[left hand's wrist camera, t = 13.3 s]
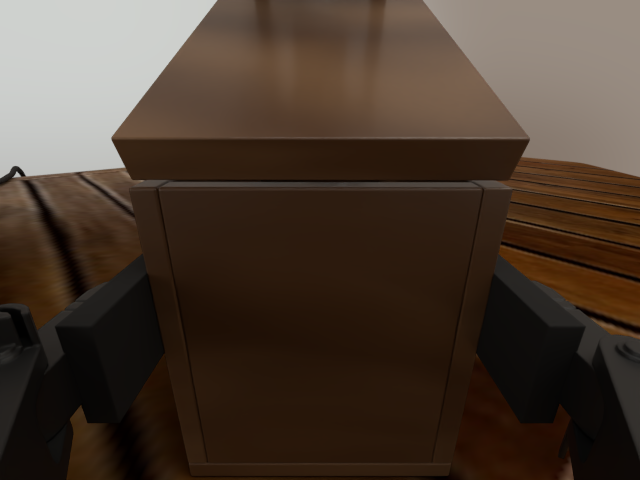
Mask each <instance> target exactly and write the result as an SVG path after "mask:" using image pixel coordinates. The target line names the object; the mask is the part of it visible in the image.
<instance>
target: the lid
mask: <svg viewBox="0 0 640 480" xmlns="http://www.w3.org/2000/svg"><path fill="white" fill-rule="evenodd" d="M529 141H530V138H529V137H528V135H527V134H526V133H525V131H524V130H523V129H522V128H521V126H520V125H519V124H518V122H517V121H516V120H515V119H514V117H513V116H512V115H511V113H510V112H509V111H508V110H507V108H506V107H505V106H504V104H503V103H502V102H501V101H500V99H499V98H498V97H497V95H496V94H495V93H494V92H493V90H492V89H491V88H490V86H489V85H488V84H487V83H486V81H485V80H484V79H483V77H482V76H481V75H480V74H479V72H478V71H477V70H476V68H475V67H474V66H473V65H472V63H471V62H470V61H469V59H468V58H467V57H466V56H465V54H464V53H463V52H462V50H461V49H460V48H459V47H458V45H457V44H456V43H455V41H454V40H453V39H452V37H451V36H450V35H449V34H448V32H447V31H446V30H445V28H444V27H443V26H442V25H441V23H440V22H439V21H438V20H437V18H436V17H435V16H434V14H433V13H432V12H431V10H430V9H429V8H428V7H427V5H426V4H425V3H424V2H423V0H217V2H216V3H215V4H214V6H213V7H212V8H211V10H210V11H209V12H208V13H207V15H206V16H205V17H204V19H203V20H202V21H201V22H200V24H199V25H198V26H197V28H196V29H195V30H194V31H193V33H192V34H191V35H190V37H189V38H188V39H187V41H186V42H185V43H184V44H183V46H182V47H181V48H180V50H179V51H178V52H177V53H176V55H175V56H174V57H173V59H172V60H171V61H170V63H169V64H168V65H167V66H166V68H165V69H164V70H163V72H162V73H161V74H160V75H159V77H158V78H157V79H156V81H155V82H154V83H153V84H152V86H151V87H150V88H149V90H148V91H147V92H146V94H145V95H144V96H143V97H142V99H141V100H140V101H139V103H138V104H137V105H136V106H135V108H134V109H133V110H132V112H131V113H130V114H129V116H128V117H127V118H126V119H125V121H124V122H123V123H122V125H121V126H120V127H119V128H118V130H117V131H116V132H115V134H114V135H113V136H112V142H113V143H114V145H115V147H116V149H117V151H118V153H119V155H120V157H121V159H122V161H123V163H124V165H125V167H126V169H127V171H128V173H129V175H130V177H131V179H132V180H509V179H510V178H511V176H512V174H513V172H514V170H515V168H516V166H517V164H518V162H519V160H520V158H521V156H522V154H523V152H524V150H525V149H526V147H527V145H528V143H529Z"/></svg>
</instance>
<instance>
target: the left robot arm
mask: <svg viewBox="0 0 640 480" xmlns="http://www.w3.org/2000/svg"><path fill="white" fill-rule="evenodd" d="M16 171H17V172H18V173H19V175H20V176H21V177H24V176H26V175H25V173H24V172H23V171H22V170H21V169H20V168H19V167H17V166H14V167H12V169H11V171H10V173H9V174H7V175H5V176H4V177H2V178H0V184H2V183H4V182H6V181H8V180H9V179H11V178H12V177H14V175H15V174H16ZM476 353H477V355H478V356H479V358H480V360H481V361H482V363H483V364H484V366H485V368H486V369H487V371H488V372H489V374H490V375H491V377H492V379H493V380H494V382H495V383H496V385H497V386H498V388H499V390H500V391H501V393H502V394H503V396H504V397H505V399H506V401H507V402H508V404H509V405H510V407H511V409H512V410H513V412H514V413H515V415H516V416H517V418H518V420H519V421H520V423H553V421H554V418H555V415H556V412H557V409H558V407H559V404H561V405H562V407H563V408H564V409H565V410H566V412H567V413H568V414H569V415H570V416H571V419H570V422H569V424H568V427H567V430H566V433H565V435H564V438H563V441H562V444H561V446H560V449H559V454H558V457H560V458H562V459H564V457H565V454H566V452H567V451H568V450H569V451H570V457H571V463H572V470H573V476H574V480H640V340H639V339H636V338H633V337H629V336H622V335H610V334H609V333H608V332H607V331H605V330H604V329H603V328H602V327H600V326H599V325H598V324H596V323H595V322H594V321H593V320H591V319H590V318H589V317H588V316H586V315H585V314H584V313H582V312H581V311H580V310H576V307H575V306H573V305H572V304H571V303H570V302H568V301H565V298H563V297H562V296H561V295H559V294H558V293H557V292H556V291H554V290H553V289H551V288H549V287H547V286H545V285H543V284H541V283H539V282H537V281H530V280H529V279H528V278H527V277H525V276H524V275H523V274H522V273H521V272H519V271H518V270H517V269H516V268H515V267H513V266H512V265H511V264H510V263H508V262H507V261H506V260H505V259H504V258H502V257H501V256H500V255H499V254H498V258H497V262H496V267H495V271H494V275H493V279H492V284H491V288H490V293H489V298H488V302H487V307H486V311H485V316H484V320H483V325H482V329H481V334H480V338H479V343H478V347H477V352H476ZM163 354H164V348H163V344H162V339H161V335H160V330H159V325H158V321H157V316H156V312H155V307H154V302H153V298H152V293H151V289H150V284H149V279H148V275H147V270H146V266H145V261H144V256H143V254H142V255H140V256H139V257H138V258H137V259H136V260H134V261H133V262H132V263H131V264H129V265H128V266H127V267H126V268H125V269H123V270H122V271H121V272H120V273H119V274H117V275H116V276H115V277H114V278H113V279H111V280H110V281H109V282H104V283H102V284H100V285H98V286H96V287H94V288H92V289H90V290H88V291H87V292H85V293H84V294H83V295H82V296H80V297H79V298H78V299H77V300H75V302H73V303H71V304H70V305H69V306H68V307H66V308H65V311H61V312H60V313H59V314H58V315H56V316H55V317H54V318H53V319H51V320H50V321H49V322H47V323H46V324H45V325H44V326H42V327H41V328H40V329H39V330H37V329H36V326H35V323H34V321H33V318H32V315H31V312H30V310H29V307H27V306H25V305H23V304H13V303H11V304H3V305H0V480H66V477H67V471H68V465H69V458H70V452H71V446H72V439H73V428H72V424H71V422H70V418H71V416H72V415H73V414H74V413H75V411H76V410H77V409H78V408H79V406H80V405H82V408H83V411H84V414H85V417H86V420H87V423H120V422H121V420H122V419H123V417H124V415H125V414H126V412H127V411H128V409H129V407H130V406H131V404H132V403H133V401H134V400H135V398H136V396H137V395H138V393H139V392H140V390H141V389H142V387H143V385H144V384H145V382H146V381H147V379H148V378H149V376H150V374H151V373H152V371H153V370H154V368H155V366H156V365H157V363H158V362H159V360H160V359H161V357H162V355H163Z"/></svg>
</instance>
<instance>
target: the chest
mask: <svg viewBox="0 0 640 480" xmlns="http://www.w3.org/2000/svg"><path fill="white" fill-rule="evenodd" d="M129 192H130V197H131V201H132V206H133V210H134V215H135V220H136V224H137V229H138V233H139V238H140V243H141V247H142V252H143V256H144V261H145V266H146V270H147V275H148V279H149V284H150V289H151V293H152V298H153V302H154V307H155V312H156V316H157V321H158V325H159V330H160V335H161V339H162V344H163V348H164V353H165V357H166V362H167V367H168V371H169V376H170V380H171V385H172V390H173V394H174V399H175V403H176V408H177V413H178V417H179V422H180V426H181V431H182V436H183V440H184V445H185V449H186V454H187V459H188V462H189V468H190V473H191V476H448V475H449V472H450V467H451V463H452V459H453V455H454V450H455V446H456V441H457V437H458V432H459V428H460V423H461V419H462V415H463V410H464V406H465V401H466V397H467V392H468V388H469V383H470V379H471V374H472V370H473V365H474V361H475V356H476V352H477V347H478V343H479V338H480V334H481V329H482V325H483V320H484V316H485V311H486V307H487V302H488V298H489V293H490V288H491V284H492V279H493V275H494V271H495V267H496V262H497V258H498V253H499V249H500V244H501V240H502V235H503V231H504V226H505V222H506V217H507V213H508V208H509V204H510V199H511V195H512V188H510V187H508V186H506V185H504V184H502V183H499V182H497V181H495V180H146V181H144V182H141V183H139V184H137V185H135V186H133V187H131V188H130V189H129Z"/></svg>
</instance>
